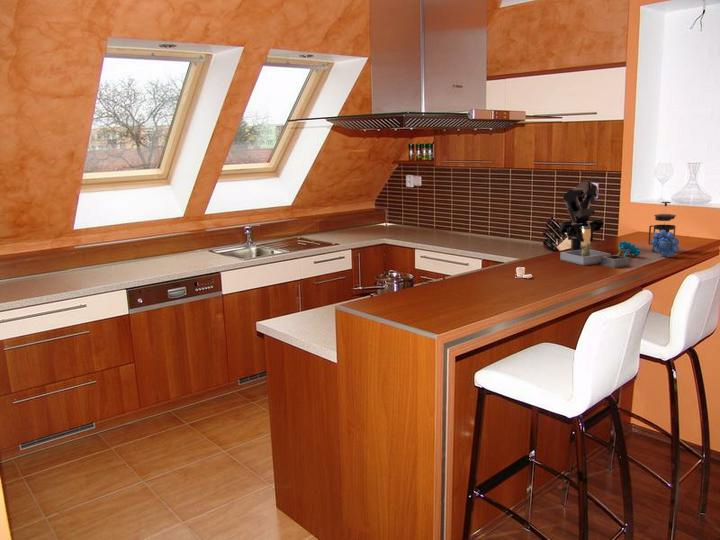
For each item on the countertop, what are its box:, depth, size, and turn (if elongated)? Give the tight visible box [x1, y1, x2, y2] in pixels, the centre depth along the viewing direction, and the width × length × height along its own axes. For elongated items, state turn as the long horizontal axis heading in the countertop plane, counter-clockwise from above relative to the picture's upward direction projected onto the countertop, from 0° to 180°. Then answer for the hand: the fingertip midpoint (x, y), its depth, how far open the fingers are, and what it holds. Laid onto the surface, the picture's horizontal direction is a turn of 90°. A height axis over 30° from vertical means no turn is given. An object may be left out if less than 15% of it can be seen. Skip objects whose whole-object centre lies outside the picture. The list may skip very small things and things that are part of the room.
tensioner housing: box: [600, 254, 630, 269], centre depth 255 cm, size 8×8×4 cm
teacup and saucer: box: [515, 266, 533, 279], centre depth 242 cm, size 9×8×4 cm
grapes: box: [650, 230, 680, 258], centre depth 267 cm, size 12×7×12 cm, turn 47°
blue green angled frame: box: [616, 240, 642, 257], centre depth 272 cm, size 11×6×10 cm
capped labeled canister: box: [580, 226, 592, 256], centre depth 266 cm, size 4×4×13 cm
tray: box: [559, 249, 612, 266], centre depth 268 cm, size 15×15×4 cm
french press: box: [648, 201, 677, 254], centre depth 279 cm, size 12×9×23 cm
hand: (587, 241), depth 265 cm, fingers closed on capped labeled canister, 4 cm apart
